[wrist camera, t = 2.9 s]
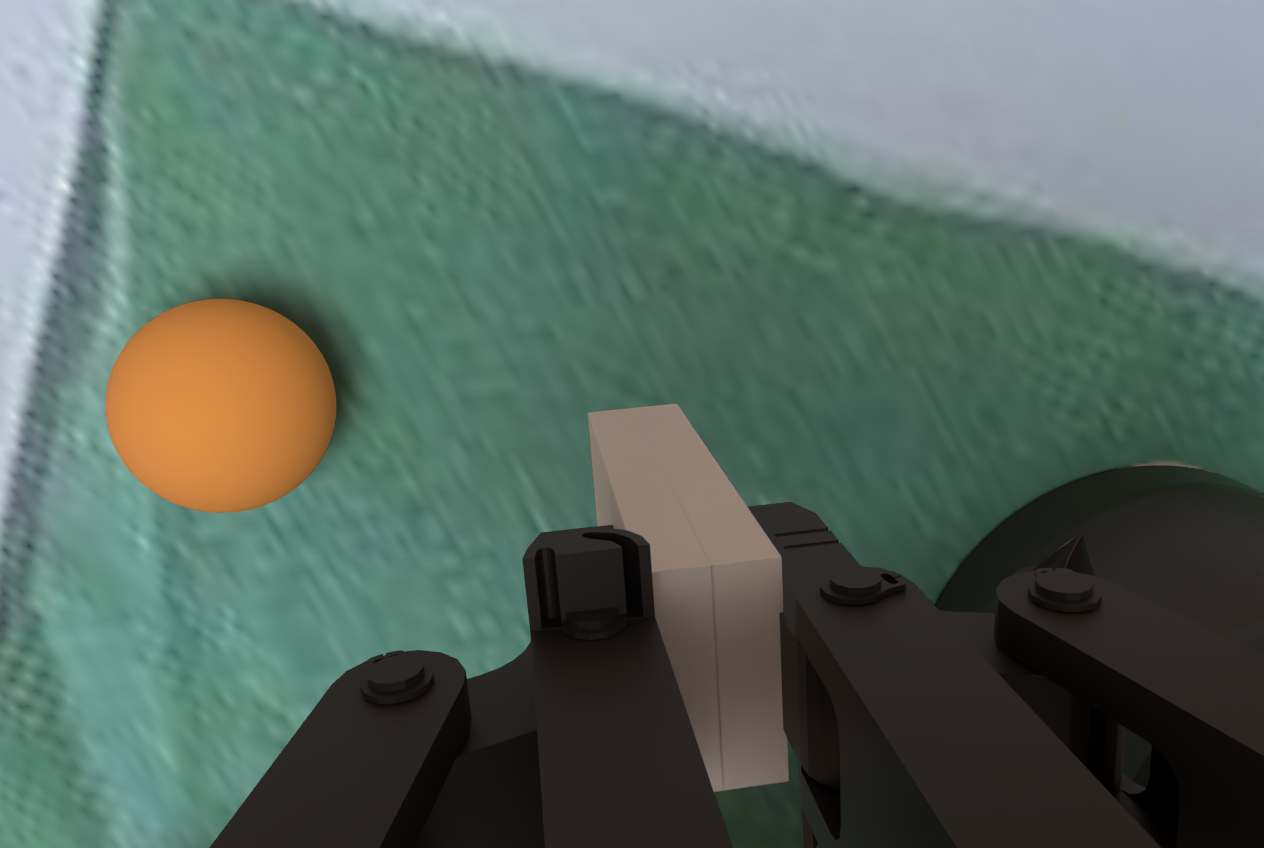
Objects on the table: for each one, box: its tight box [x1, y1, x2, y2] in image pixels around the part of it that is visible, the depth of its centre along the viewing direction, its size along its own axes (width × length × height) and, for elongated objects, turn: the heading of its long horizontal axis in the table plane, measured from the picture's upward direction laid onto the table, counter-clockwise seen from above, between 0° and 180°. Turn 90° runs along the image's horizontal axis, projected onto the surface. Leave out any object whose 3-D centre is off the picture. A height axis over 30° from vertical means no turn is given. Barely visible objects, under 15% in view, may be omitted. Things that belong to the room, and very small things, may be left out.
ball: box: [106, 299, 337, 513], centre depth 26 cm, size 6×6×6 cm
